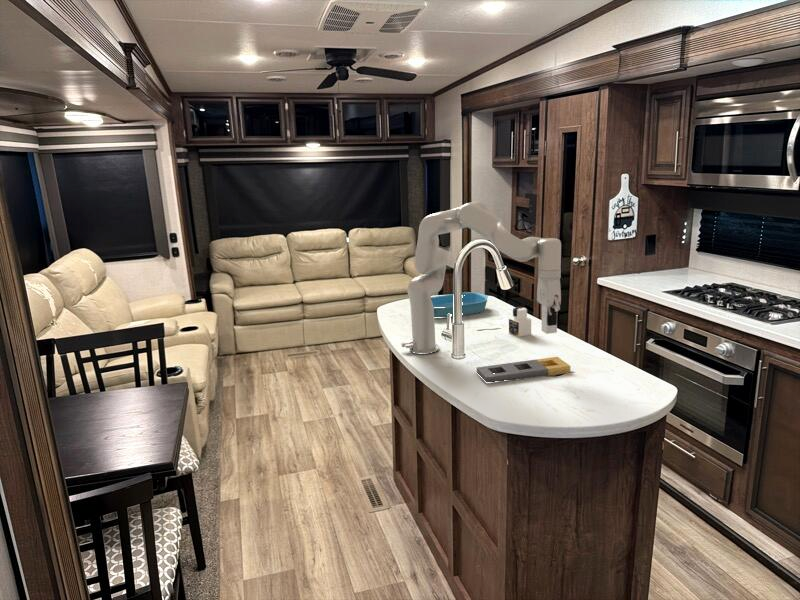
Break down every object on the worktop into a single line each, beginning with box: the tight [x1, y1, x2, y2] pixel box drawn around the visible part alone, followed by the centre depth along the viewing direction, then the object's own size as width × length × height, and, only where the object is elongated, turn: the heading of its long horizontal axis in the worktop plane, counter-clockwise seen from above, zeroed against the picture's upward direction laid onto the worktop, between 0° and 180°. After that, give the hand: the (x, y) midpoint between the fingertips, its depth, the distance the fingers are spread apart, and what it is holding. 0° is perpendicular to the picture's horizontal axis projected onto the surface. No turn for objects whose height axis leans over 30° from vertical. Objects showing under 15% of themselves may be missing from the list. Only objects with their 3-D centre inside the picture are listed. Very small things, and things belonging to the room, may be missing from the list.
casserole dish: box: [431, 291, 488, 318], centre depth 281 cm, size 37×22×7 cm, turn 107°
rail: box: [476, 356, 571, 382], centre depth 199 cm, size 32×10×2 cm, turn 101°
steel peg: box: [541, 304, 558, 335], centre depth 196 cm, size 4×4×10 cm
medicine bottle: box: [508, 306, 532, 338], centre depth 241 cm, size 7×7×12 cm
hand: (549, 322), depth 196 cm, fingers closed on steel peg, 4 cm apart
